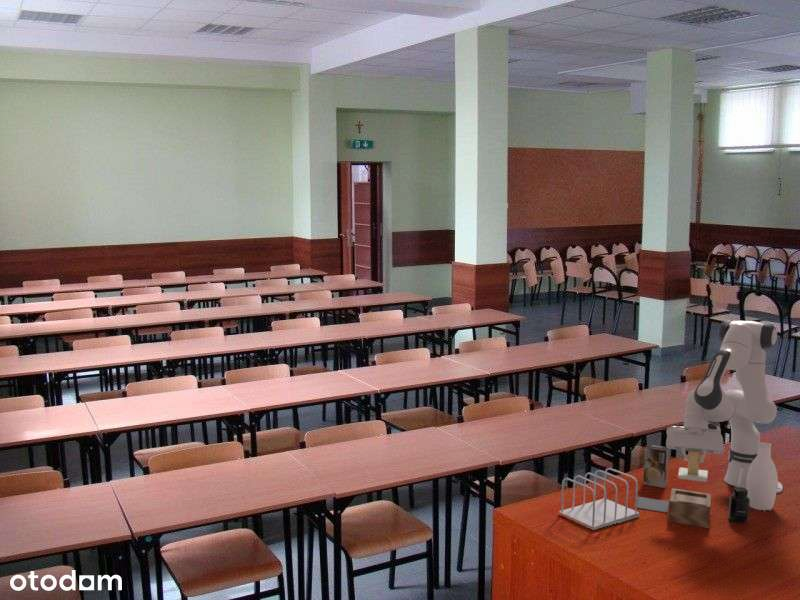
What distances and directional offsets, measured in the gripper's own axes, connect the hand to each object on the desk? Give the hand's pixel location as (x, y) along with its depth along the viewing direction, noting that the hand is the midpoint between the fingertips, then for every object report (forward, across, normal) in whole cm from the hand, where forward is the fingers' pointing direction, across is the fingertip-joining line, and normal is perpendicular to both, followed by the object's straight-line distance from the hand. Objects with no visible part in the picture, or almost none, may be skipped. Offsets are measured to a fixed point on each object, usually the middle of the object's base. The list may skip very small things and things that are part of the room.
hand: (693, 460), depth 287 cm
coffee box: (-7, -16, +39) cm, 42 cm away
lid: (+4, 0, +5) cm, 6 cm away
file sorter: (+25, -32, +6) cm, 41 cm away
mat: (+11, -15, +20) cm, 27 cm away
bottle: (-1, +24, +34) cm, 41 cm away
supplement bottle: (+12, +16, +21) cm, 29 cm away
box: (+16, -1, +16) cm, 22 cm away
